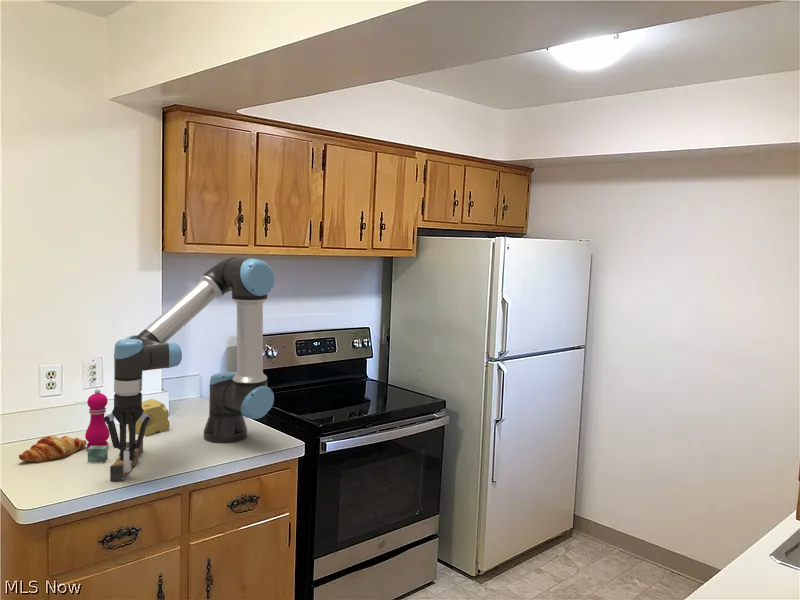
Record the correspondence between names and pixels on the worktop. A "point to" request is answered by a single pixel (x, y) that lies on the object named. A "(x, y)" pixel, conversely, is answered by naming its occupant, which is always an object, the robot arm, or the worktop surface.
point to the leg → (121, 468)
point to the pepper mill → (97, 420)
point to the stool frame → (104, 452)
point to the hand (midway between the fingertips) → (127, 470)
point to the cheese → (154, 417)
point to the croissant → (52, 448)
